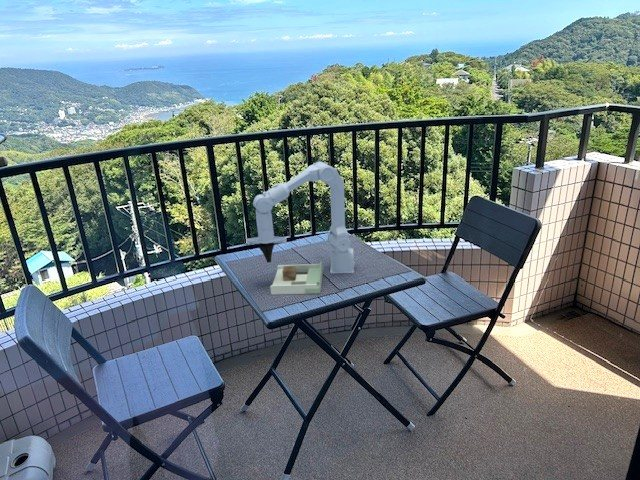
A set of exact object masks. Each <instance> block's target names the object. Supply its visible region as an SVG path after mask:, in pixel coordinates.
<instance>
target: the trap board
mask: <svg viewBox="0 0 640 480" xmlns="http://www.w3.org/2000/svg"><path fill="white" fill-rule="evenodd" d="M284 266H296V279H295V281H283V273H282V271H283V268H284ZM323 267H324V266H323V261H319V263H310V264H309V263H307V264H305V263H304V264H280V265H279V264H278V265H277V271H276V273H275V276H274V279H273V281H272V284H271V285H270V286H269V287H270V288H269V289H270V295H275V296H276V295H304V294H306V295H310V294H313V295H314V294H321V292H322V291H321V290H322V281H323V276H324V275H323V274H324V268H323Z"/></svg>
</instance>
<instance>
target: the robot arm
mask: <svg viewBox="0 0 640 480" xmlns="http://www.w3.org/2000/svg"><path fill="white" fill-rule="evenodd" d="M319 180H320V181H321V182H322V183H325V184H326V185H328V186H329V187H330V188H329V192H330V193H329V195H330V196H329V197H330V219H331V226H330V227H329V233H328V235H327V241H328V243H329V245H330V262H331V264H330V271H329V272H330V273H329V274H332V275H333V274H335V275H336V274H355V266H356V261H355V258H354V257H355V254H354V252H355V251H354V248H352V247H351V244H352V243H351V239H350V238H349V233H348V230H347V228H346V214H345V213H346V207H345V182H344V180H343V177H342V176H341V175H340V173H339V172H338V169H336V168H335V167H333V166H331V165H329V164H327V163H326V162H324V161H321V160H320V161H316V162H314V164H311V165H310V164H309V166H308V167H306V169H304V170H303V171H301V172H300V173H298V174H296V176H294V177H293V178H291V179H290V180H289V181H287V182H285V183H282V182H280V183H277V182H276V183H274V184H273V187H272V188H270V189H268V190H267V191H263V192H262V194H257V195H256V196H255V197H254V199H253V202H252V205H253V207H254V208H255V221H256V226H257V228H256V229H257V234H258V235H257V237H251V238H249V237H248V238H247V239H246V245H247V246H250V245H259V246H258V247H259V250H260V252H262V254H263V256H264V259H265V260H266V263H271V262H272V254H273V249H274V247H275V244H285V245H286V244H287V236H275V234H274V233H275V232H274V225H273V224H274V223H273V215H272V209H273V207H274V206H276V205H278V204H279V203H280V202H282V201H284V200H286V199H287V198H289V197H290V193H291V192H292V191H294V190H296V189H297V188H299V187H300V186H303V185H304V184H306V183H308V182H316V183H317V182H319Z"/></svg>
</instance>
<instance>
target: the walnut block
mask: <svg viewBox="0 0 640 480" xmlns="http://www.w3.org/2000/svg"><path fill="white" fill-rule="evenodd" d="M282 273H283V281H295V279H296V266H284V268H283V271H282Z"/></svg>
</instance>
